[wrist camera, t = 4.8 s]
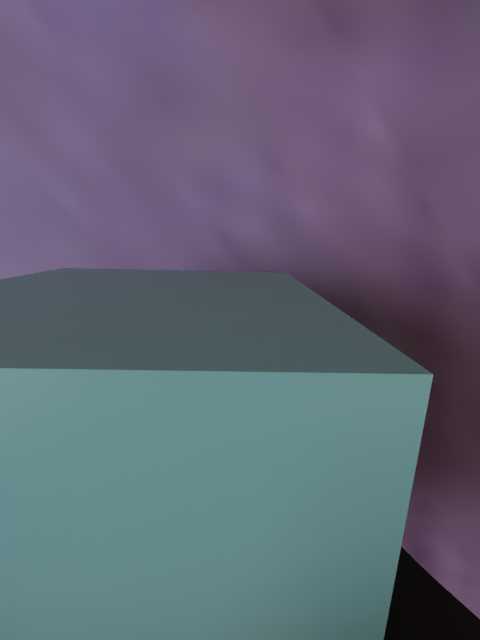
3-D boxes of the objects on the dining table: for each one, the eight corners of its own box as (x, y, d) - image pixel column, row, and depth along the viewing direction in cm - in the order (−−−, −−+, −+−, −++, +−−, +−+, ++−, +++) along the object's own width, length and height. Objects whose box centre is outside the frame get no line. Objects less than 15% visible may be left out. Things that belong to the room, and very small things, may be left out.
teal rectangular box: (99, 568, 10) (-86, 1017, 4) (64, 268, 8) (-459, 361, 2) (269, 569, 11) (314, 1008, 5) (286, 272, 8) (433, 373, 2)
